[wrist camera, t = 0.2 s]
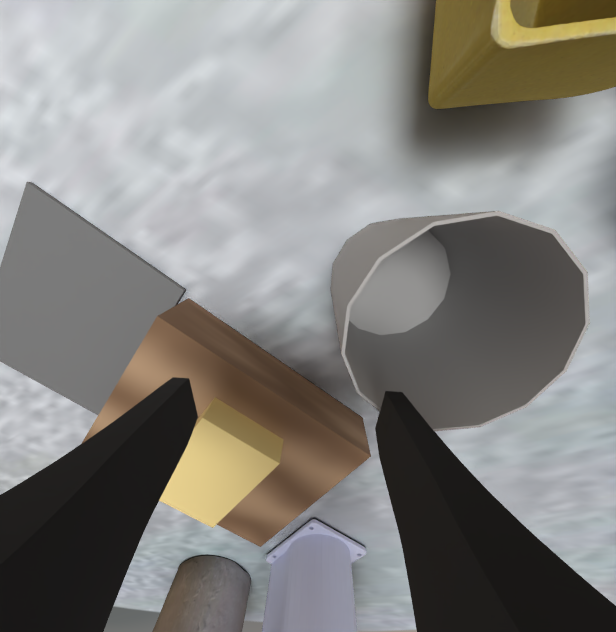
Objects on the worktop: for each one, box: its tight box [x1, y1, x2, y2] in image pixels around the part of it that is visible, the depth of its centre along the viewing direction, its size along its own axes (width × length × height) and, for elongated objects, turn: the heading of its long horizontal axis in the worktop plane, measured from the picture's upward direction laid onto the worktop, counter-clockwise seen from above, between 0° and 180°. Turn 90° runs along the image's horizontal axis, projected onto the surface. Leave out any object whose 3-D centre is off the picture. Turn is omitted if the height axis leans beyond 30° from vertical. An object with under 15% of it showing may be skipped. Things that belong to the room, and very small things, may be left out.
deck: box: [82, 298, 371, 547], centre depth 21 cm, size 15×18×4 cm
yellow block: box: [159, 397, 284, 528], centre depth 19 cm, size 9×6×2 cm, turn 142°
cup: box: [331, 211, 590, 431], centre depth 14 cm, size 8×8×10 cm
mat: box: [0, 182, 186, 415], centre depth 20 cm, size 16×12×1 cm
